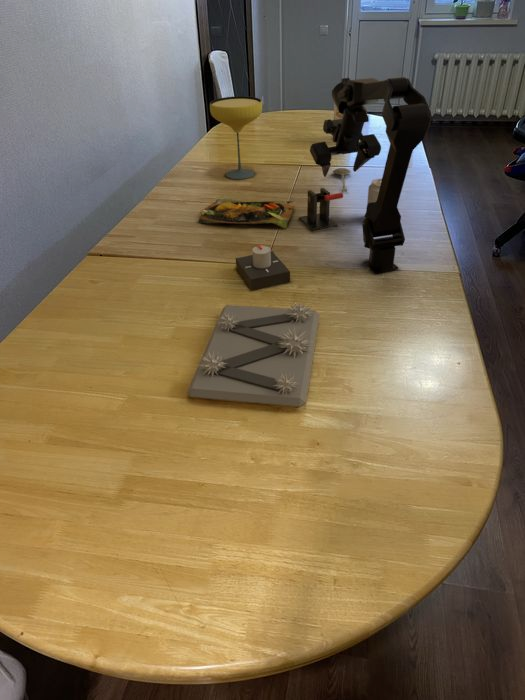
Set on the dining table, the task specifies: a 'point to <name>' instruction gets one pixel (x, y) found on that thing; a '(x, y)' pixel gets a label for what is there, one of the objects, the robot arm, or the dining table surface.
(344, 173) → the soupspoon
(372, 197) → the can
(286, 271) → the dial panel
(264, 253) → the knob
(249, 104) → the cocktail glass
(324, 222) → the dark grey lever stand
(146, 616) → the dining table surface
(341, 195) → the toast lever
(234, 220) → the prepared meal
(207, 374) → the decorative plate
